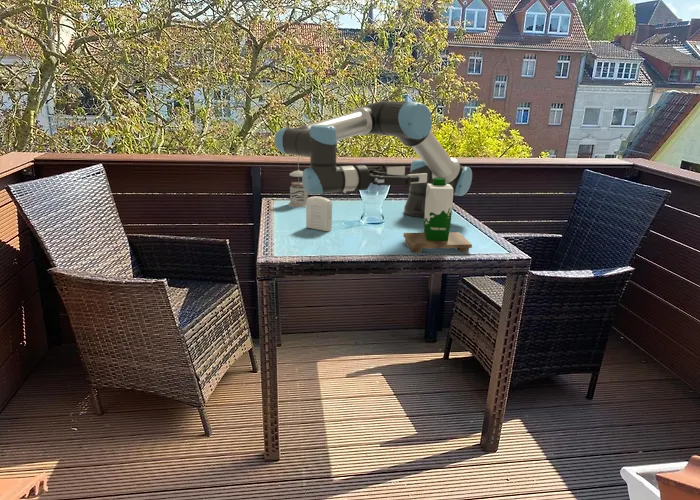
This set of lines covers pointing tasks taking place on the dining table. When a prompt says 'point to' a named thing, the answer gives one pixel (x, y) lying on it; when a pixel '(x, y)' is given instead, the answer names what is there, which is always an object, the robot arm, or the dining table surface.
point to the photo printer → (319, 213)
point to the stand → (436, 242)
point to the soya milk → (438, 210)
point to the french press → (295, 188)
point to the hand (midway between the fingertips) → (415, 174)
